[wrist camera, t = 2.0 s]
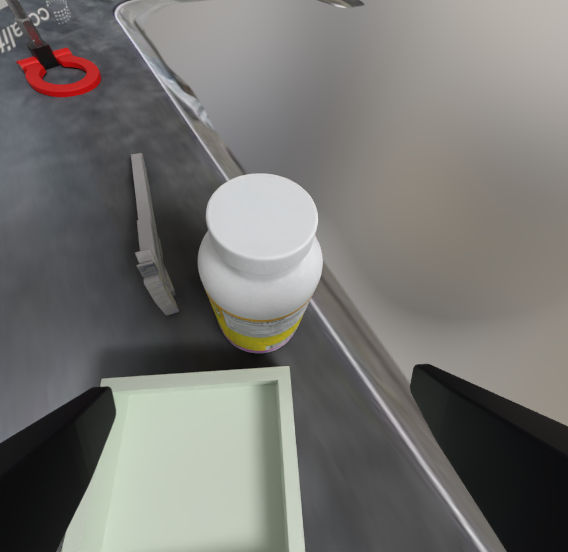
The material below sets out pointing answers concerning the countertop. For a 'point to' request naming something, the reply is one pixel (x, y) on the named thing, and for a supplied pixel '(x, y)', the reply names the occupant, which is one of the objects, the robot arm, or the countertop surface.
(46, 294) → the countertop surface
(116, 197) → the countertop surface
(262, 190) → the supplement bottle
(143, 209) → the caliper
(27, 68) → the tow hook
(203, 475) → the sage tray
